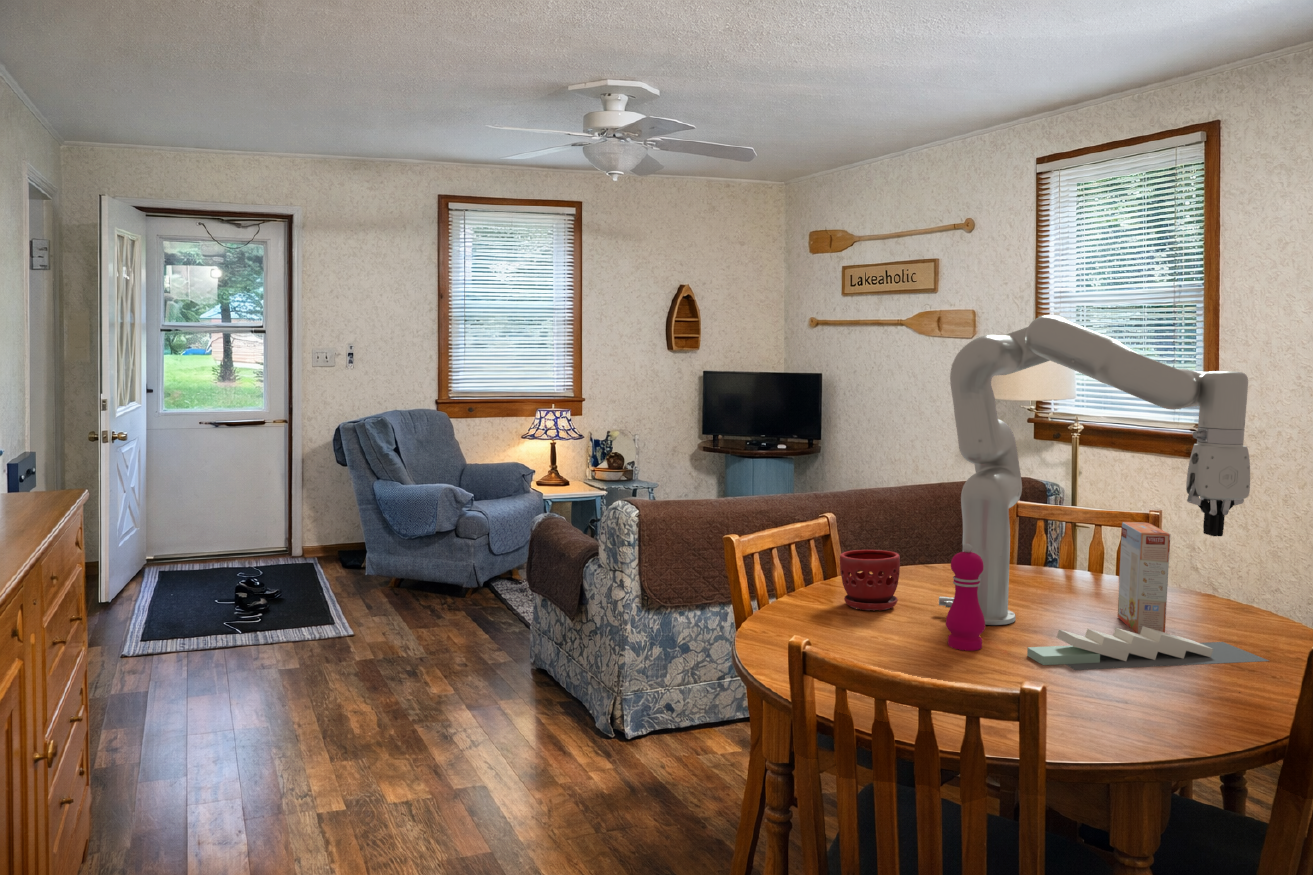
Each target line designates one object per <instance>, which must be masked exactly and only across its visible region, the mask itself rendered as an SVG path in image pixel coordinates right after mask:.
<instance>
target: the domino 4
mask: <svg viewBox="0 0 1313 875" xmlns="http://www.w3.org/2000/svg"><path fill="white" fill-rule="evenodd" d="M1139 634H1140V635H1142V636H1145V637H1147V638H1149V639H1151V640H1154V641H1156V642H1158V643H1161V644H1165V645H1168V646H1172V647H1175V648H1179V649H1183V650H1186V651H1190V652H1193V653H1197V654H1201V655H1204V656H1208V657H1211V655H1212V652H1213V649H1212V648H1210V647H1207V646H1205V645H1203V644H1200V643H1201V642H1197V641H1195V640H1193V639H1189V638H1186V637H1182V636H1178V635H1176V634H1171V633H1167V632H1166V631H1165V632H1161V631H1158V630H1154V629H1150V628H1147V627H1143V626H1142V630H1141V633H1139Z"/></svg>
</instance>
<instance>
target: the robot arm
mask: <svg viewBox="0 0 1313 875" xmlns="http://www.w3.org/2000/svg"><path fill="white" fill-rule="evenodd" d="M1050 361H1051V362H1053V363H1055V364H1057V365H1061V366H1062V367H1063V366H1064V367H1066V368H1067V369H1070V370H1073V371H1075V372H1078V373H1080V374H1081V375H1084V376H1086V377H1089V378H1091V379H1094V380H1096V381H1097V382H1099V383H1102V384H1104V385H1108V386H1111V387H1113V388H1115V389H1117V390H1120V391H1121V392H1124V393H1126V394H1128V395H1131V396H1133V397H1136V398H1138V399H1141V400H1143V401H1145V402H1147V403H1150V404H1153V405H1154V406H1155V405H1156V406H1157V407H1160V408H1163V409H1166V410H1180V409H1184V408H1192V407H1199V410H1198V422H1197V423H1198V424H1197V430H1195V431H1193V433H1192V438H1193V439H1196V443H1194V444H1193V447H1192V449H1191V454H1190V458H1189V462H1188V467H1187V474H1186V475H1187V476H1186V484H1185V485H1186V488H1185V489H1186V493H1187V494H1188V497H1187V499H1186V501H1187V503H1188V504H1193V505H1197V507H1198V508H1200V511H1201V513H1203V524H1202V526H1203V527H1202V528H1203V531H1202V532H1203V534H1204V535H1208V536H1211V537H1223V536H1224V527H1225V516H1227V515H1228V514H1229V512H1230V510H1231V509H1232V508H1233V507H1234V506H1238V505H1243V504H1244V503H1245V500H1244V499H1246V498H1248V497H1249V495H1250V492H1251V462H1250V460H1251V459H1250V454H1249V449H1248V446H1247V445H1244V441H1245V440H1244V439H1245V428H1246V415H1247V406H1248V405H1247V403H1248V392H1249V376H1248V375H1247V374H1246V373H1244V372H1241V371H1230V370H1228V371H1227V370H1225V371H1224V370H1216V371H1215V370H1212V371H1200V370H1193V369H1187V368H1186V369H1185V368H1176V367H1173V366H1170V365H1168V364H1166V363H1163V362H1160V361H1158V360H1154V359H1152V358H1150V357H1147V356H1145V355H1143V354H1141V353H1138V352H1136V351H1134V350H1133V349H1131V348H1129V347H1127V346H1126V345H1125V344H1123V343H1122V342H1121V341H1119V340H1117V339H1116V338H1113V337H1111V336H1107V335H1105V334H1102V333H1099V332H1097V331H1094V330H1092V329H1089V328H1086V327H1084V326H1082V325H1080V324H1076V323H1075V322H1072V321H1070V320H1069V319H1067V318H1065V317H1063V316H1059V315H1052V314H1046V315H1045V314H1044V315H1041V316H1039V317H1037V318H1035V319H1033V320H1032V321H1031V322H1030V324H1028V326H1026V327H1024V328H1022V329H1021V328H1020V329H1018V330H1015V331H1012V332H1009V333H1006V334H1003V335H998V334H987V335H986V334H985V335H981V336H979V337H976V338H974V339H973V340H971V341H969V342H968V343H967V344H965V345H964V346H963V347H962V348H961V349H960V350H959V351H958V353H957V354H956V356H955V358H954V360H953V362H952V364H951V367H950V368H951V369H950V373H949V374H950V376H949V377H950V378H949V380H950V382H949V383H950V390H951V391H950V393H951V398H952V404H953V412H954V414H953V415H954V420H955V421H954V422H955V427H956V434H957V441H958V448H959V449H958V450H959V452H960V455H961V456H962V457H963V459H964V460H966V461H967V462H968V463H970V464H974V471H975V473H974V474H972V475H970V476H969V477H968V479H966V481H965V483H963V486H962V490H961V494H960V507H961V516H962V518H961V519H962V547H963V546H964V545H965V544H970V545H971V546H972V551H971V552H973V553H976V554H977V555H979V556H980V557H981V559H982V561H983V565H984V568H983V572H982V573H981V574H980V575H979V578H980V579H981V580H980V586H978V591H977V593H978V601H979V605H980V608H981V610H982V613H983V615H984V620H985V626H1002V625H1003V626H1004V625H1005V626H1006V625H1008V624H1013V623H1014V622H1016V614H1015V612H1014V611H1011V610H1009V593H1010V592H1009V588H1010V587H1009V585H1010V582H1009V581H1010V558H1011V557H1010V552H1011V526H1010V523H1011V522H1010V513H1009V512H1010V511H1009V509H1010V508H1012V507H1014V506H1015V505H1016V504H1017V503H1018V502H1019V500H1020V499H1021V496H1022V493H1023V492H1022V491H1023V483H1022V474H1021V468H1020V460H1019V455H1018V447H1017V442H1016V437H1015V435H1014V433H1013V430H1012V429H1011V427H1010V426H1009V425H1008V424H1007V423H1006V422H1005V421H1003V420H1001V419H999V417H998V412H997V404H996V397H995V393H994V390H993V388H992V387H993V386H992V380H993V377H994V376H996V377H997V376H1006V375H1011V374H1013V373H1014V374H1015V373H1017V372H1020V371H1023V370H1026V369H1030V368H1033V367H1035V366H1038V365H1042V364H1045V363H1048V362H1050ZM962 552H964V551H963V550H962ZM954 597H955V595H954V596H953V597H949V596H938V606H943V607H944V606H945V608H949V609H950V608H951V606H952V603H953V601H954Z"/></svg>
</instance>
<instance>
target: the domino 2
mask: <svg viewBox="0 0 1313 875" xmlns="http://www.w3.org/2000/svg"><path fill="white" fill-rule="evenodd" d="M1084 637H1086V638H1088V639H1090V640H1092V641H1094V642H1096V643H1098V644H1100V645H1103V646H1106V647H1110V648H1113V649H1117V650H1121V651H1124V652H1128V653H1131V654H1135V655H1139V656H1142V657H1146V658H1149V659H1153V660H1155V659H1156V656H1157V653H1158V652H1157V651H1154V650H1150V649H1146V648H1143V647H1139V646H1135V645H1132V644H1129V643H1127V642H1125V641H1123V640H1121V639H1119V638H1117V637H1115V636H1113V634H1112V635H1111V634H1108V633H1105V632H1101V631H1097V630H1095V629H1094V630H1093V629H1090V628H1087V630H1086V632H1085V634H1084Z"/></svg>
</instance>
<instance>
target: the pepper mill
mask: <svg viewBox="0 0 1313 875" xmlns="http://www.w3.org/2000/svg"><path fill="white" fill-rule="evenodd" d="M963 551H964V552H963ZM971 551H972V546H971V545H970V544H965V545H964V546H963V545H962V551H960V552H957V553H956V554H954V555H953V556H952V558H951V562H950V569H951V571H952V573H953V574H954V576H952V578H953V581H952V583H953V584H954V588H955V590H954V596H955V597H954V596H953V598H954V601H953V603H952V606H951V608H950V607H949V610H948V611H947V616H946V618H945V619H946V620H945V627H946V629H947V630H948V631H949V632H950V634H949V635H948V636H947V645H948V646H949V647H950V648H951V649H954V648H955V650H958V649H959V650H958V651H964V650H965V651H967V652H971V651H972V652H973V651H975V652H976V651H980V650H981V649H982V647H983V638H982V637H981V634H982V633H983V632H984V631H985V629H986V625H985V620H984V615H983V613H982V610H981V608H980V605H979V601H978V593H977V591H978V586H980V580H981V579H980V578H979V575H980V574H981V573H982V572H983V568H984V565H983V561H982V559H981V557H980V556H979V555H977V554H976V553H973V552H971Z"/></svg>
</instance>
